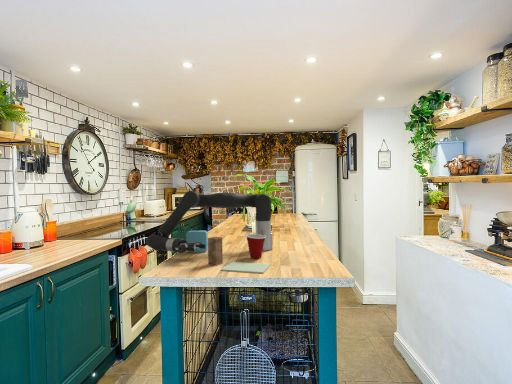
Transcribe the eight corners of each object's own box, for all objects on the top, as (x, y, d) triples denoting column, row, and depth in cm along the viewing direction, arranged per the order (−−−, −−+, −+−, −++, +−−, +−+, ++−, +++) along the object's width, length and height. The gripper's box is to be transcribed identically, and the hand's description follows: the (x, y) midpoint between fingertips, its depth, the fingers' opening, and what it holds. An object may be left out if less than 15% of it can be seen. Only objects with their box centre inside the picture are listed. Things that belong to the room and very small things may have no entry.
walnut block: (208, 264, 157) (207, 238, 157) (214, 262, 161) (214, 236, 161) (216, 265, 154) (215, 238, 154) (222, 263, 159) (222, 237, 158)
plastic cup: (264, 260, 164) (264, 237, 163) (244, 259, 166) (243, 236, 166) (268, 255, 174) (267, 233, 174) (248, 255, 176) (248, 233, 176)
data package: (208, 250, 190) (207, 230, 189) (206, 252, 185) (206, 231, 185) (188, 250, 191) (188, 230, 190) (186, 252, 186) (185, 231, 186)
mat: (220, 270, 146) (220, 269, 146) (231, 263, 159) (231, 261, 159) (263, 273, 140) (263, 272, 140) (270, 265, 153) (270, 264, 153)
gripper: (166, 240, 165) (189, 242, 157) (185, 236, 177) (208, 238, 169) (166, 254, 165) (190, 258, 157) (186, 249, 178) (208, 252, 169)
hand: (199, 247), depth 163 cm, fingers open, 8 cm apart
